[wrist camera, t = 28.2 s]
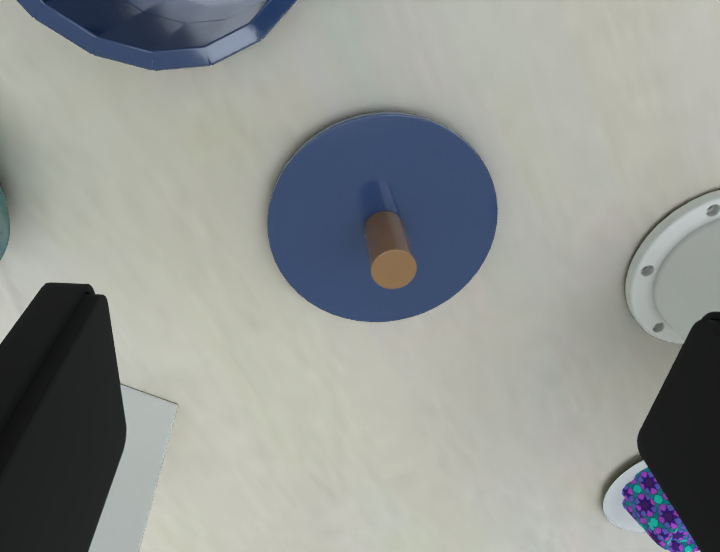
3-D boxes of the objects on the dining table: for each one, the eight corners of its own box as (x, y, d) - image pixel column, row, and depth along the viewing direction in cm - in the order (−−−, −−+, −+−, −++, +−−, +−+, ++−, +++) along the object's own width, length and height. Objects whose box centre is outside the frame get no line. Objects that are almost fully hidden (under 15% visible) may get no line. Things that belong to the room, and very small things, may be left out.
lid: (516, 118, 34) (554, 154, 29) (467, 316, 42) (490, 372, 37) (271, 97, 32) (264, 131, 27) (266, 308, 40) (260, 366, 35)
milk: (102, 376, 42) (-64, 735, 23) (180, 404, 44) (85, 756, 25) (75, 428, 45) (-94, 791, 26) (150, 453, 47) (44, 806, 28)
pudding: (622, 442, 50) (652, 492, 46) (747, 441, 52) (788, 490, 47) (584, 526, 57) (608, 578, 52) (697, 523, 58) (729, 573, 54)
